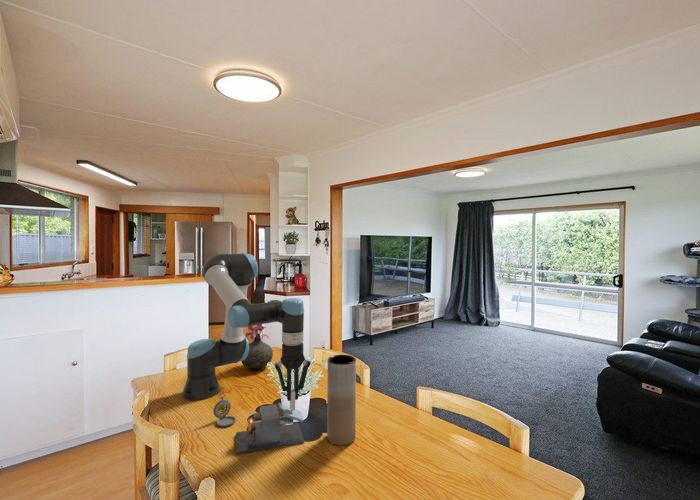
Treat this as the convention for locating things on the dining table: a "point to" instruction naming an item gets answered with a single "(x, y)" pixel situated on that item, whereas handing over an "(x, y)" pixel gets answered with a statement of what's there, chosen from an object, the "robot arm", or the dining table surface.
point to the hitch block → (268, 433)
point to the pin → (251, 423)
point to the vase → (257, 350)
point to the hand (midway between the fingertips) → (292, 408)
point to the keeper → (290, 413)
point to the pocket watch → (223, 420)
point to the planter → (341, 399)
